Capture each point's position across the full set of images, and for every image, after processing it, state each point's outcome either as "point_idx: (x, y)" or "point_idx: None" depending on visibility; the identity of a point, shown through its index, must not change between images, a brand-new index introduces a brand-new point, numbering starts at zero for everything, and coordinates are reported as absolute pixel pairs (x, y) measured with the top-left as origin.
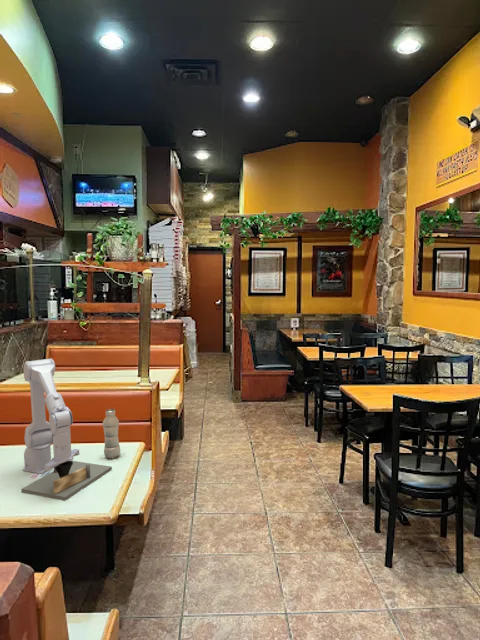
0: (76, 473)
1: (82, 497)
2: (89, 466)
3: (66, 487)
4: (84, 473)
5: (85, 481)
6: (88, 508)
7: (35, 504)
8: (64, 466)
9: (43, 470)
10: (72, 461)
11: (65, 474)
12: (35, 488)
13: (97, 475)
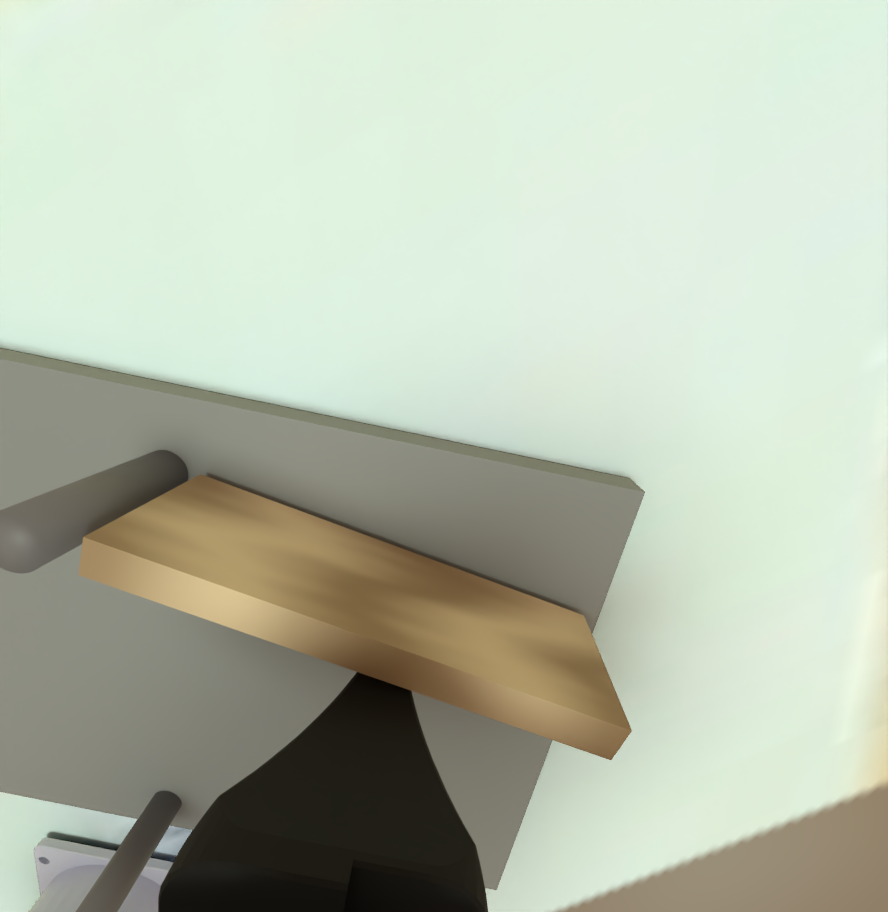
0: (284, 590)
1: (556, 330)
2: (23, 505)
3: (463, 575)
4: (179, 513)
5: (263, 453)
6: (836, 95)
7: (689, 688)
8: (472, 908)
9: (161, 880)
10: (190, 874)
11: (415, 711)
12: (478, 810)
13: (88, 386)
